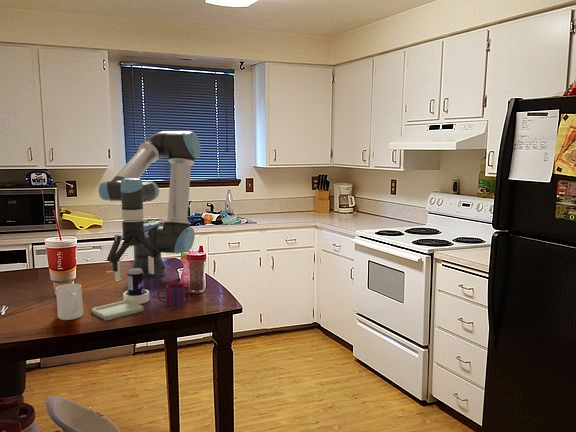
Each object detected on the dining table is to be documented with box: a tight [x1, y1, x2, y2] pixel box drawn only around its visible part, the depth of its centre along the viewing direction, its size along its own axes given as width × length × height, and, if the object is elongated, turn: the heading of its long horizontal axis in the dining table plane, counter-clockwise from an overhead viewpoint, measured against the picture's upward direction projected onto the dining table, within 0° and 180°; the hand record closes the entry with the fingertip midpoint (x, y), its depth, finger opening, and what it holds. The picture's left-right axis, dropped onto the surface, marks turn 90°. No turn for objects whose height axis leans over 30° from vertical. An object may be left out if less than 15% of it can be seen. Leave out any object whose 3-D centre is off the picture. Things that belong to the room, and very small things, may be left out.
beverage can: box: [126, 267, 145, 296], centre depth 191 cm, size 6×6×12 cm
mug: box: [55, 283, 84, 321], centre depth 173 cm, size 12×8×10 cm, turn 39°
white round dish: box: [122, 288, 150, 305], centre depth 192 cm, size 9×9×3 cm
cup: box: [157, 282, 186, 307], centre depth 187 cm, size 7×10×7 cm
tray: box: [91, 300, 145, 321], centre depth 179 cm, size 14×11×2 cm
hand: (135, 276), depth 190 cm, fingers open, 13 cm apart
